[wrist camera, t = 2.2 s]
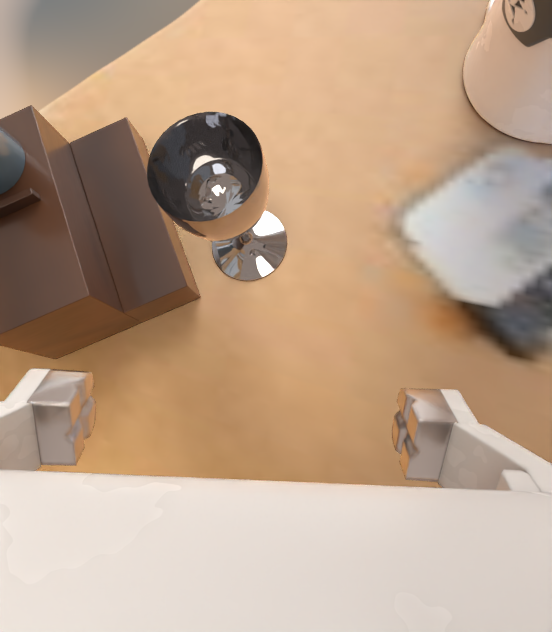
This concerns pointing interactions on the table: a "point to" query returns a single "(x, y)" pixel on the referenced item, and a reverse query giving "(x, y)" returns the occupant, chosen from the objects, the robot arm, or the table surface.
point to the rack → (83, 240)
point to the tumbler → (10, 161)
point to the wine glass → (219, 191)
